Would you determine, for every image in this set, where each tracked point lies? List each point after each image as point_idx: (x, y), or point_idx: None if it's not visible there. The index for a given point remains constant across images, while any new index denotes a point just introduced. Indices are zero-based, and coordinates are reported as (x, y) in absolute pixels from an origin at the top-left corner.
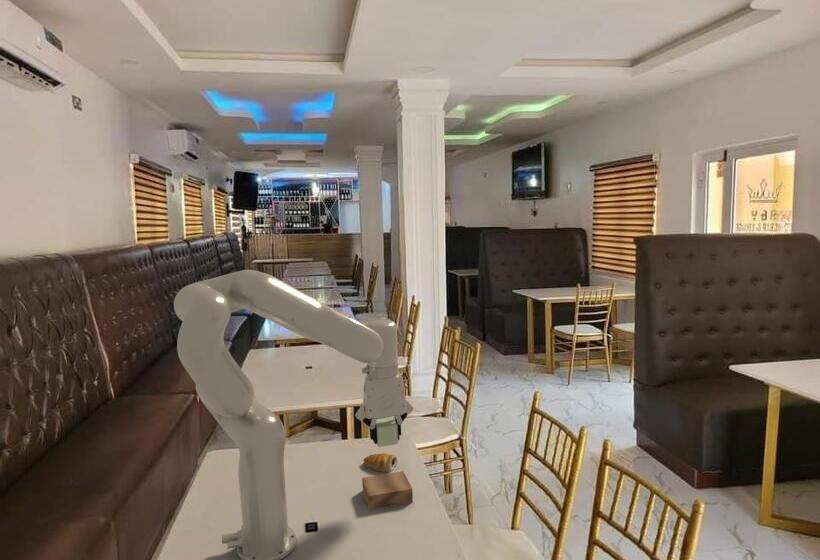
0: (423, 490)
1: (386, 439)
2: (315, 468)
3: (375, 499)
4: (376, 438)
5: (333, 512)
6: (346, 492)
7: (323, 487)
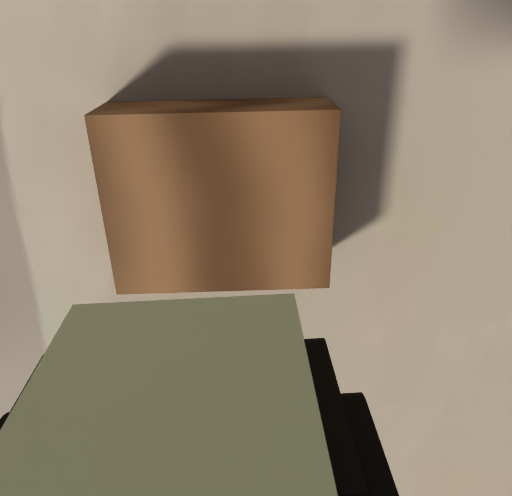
0: (43, 187)
1: (195, 343)
2: (450, 434)
3: (300, 106)
4: (315, 378)
5: (488, 124)
6: (387, 260)
7: (464, 316)
